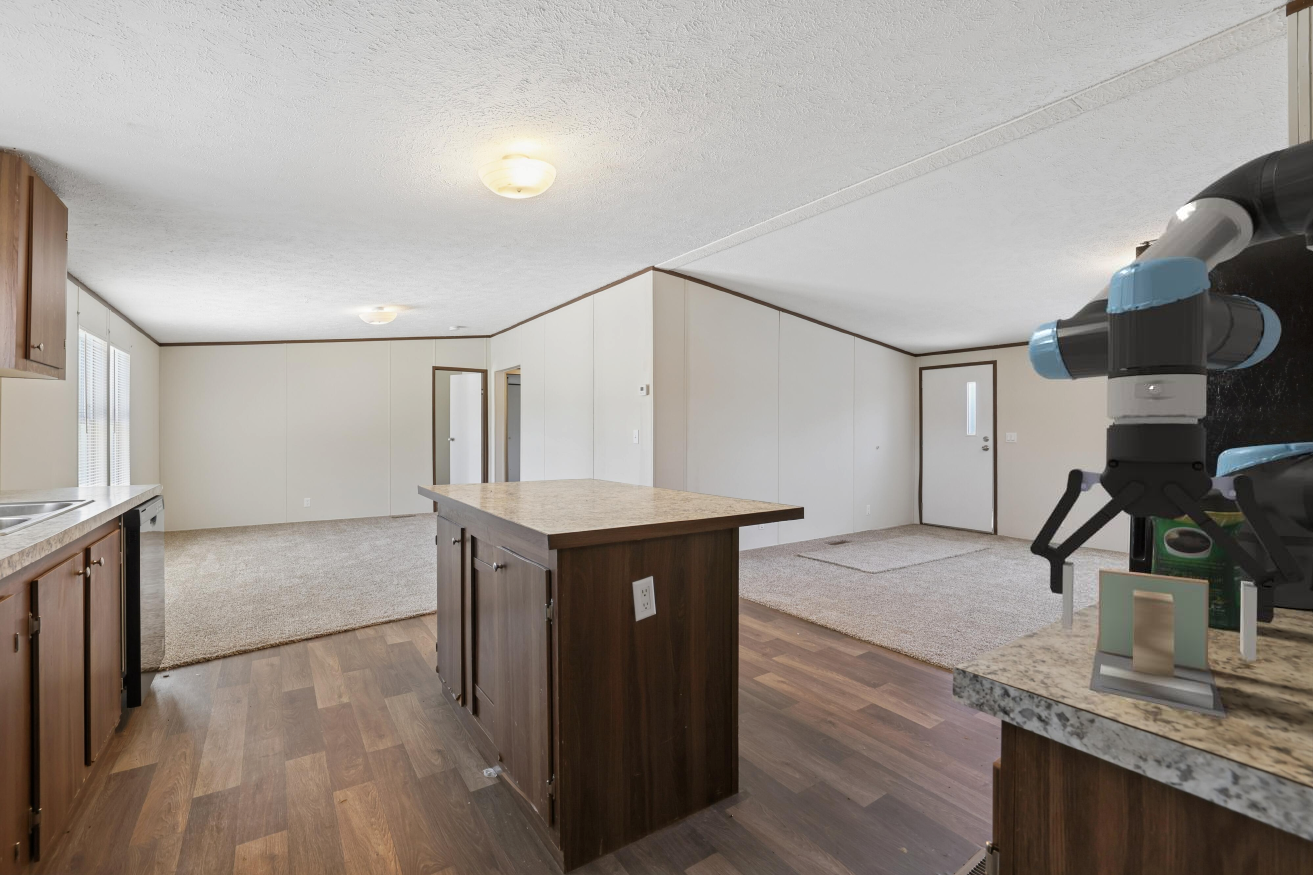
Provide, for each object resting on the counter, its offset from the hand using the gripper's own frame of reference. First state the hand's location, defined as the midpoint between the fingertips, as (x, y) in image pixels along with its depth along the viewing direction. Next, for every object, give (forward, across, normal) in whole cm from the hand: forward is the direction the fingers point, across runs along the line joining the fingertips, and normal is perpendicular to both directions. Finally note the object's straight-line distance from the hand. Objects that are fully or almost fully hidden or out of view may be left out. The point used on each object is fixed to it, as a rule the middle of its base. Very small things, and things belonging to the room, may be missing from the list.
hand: (1151, 640), depth 60 cm
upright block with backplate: (+4, 0, 0) cm, 4 cm away
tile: (+4, 0, +7) cm, 8 cm away
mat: (+4, 0, +6) cm, 7 cm away
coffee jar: (+4, +5, +30) cm, 31 cm away
